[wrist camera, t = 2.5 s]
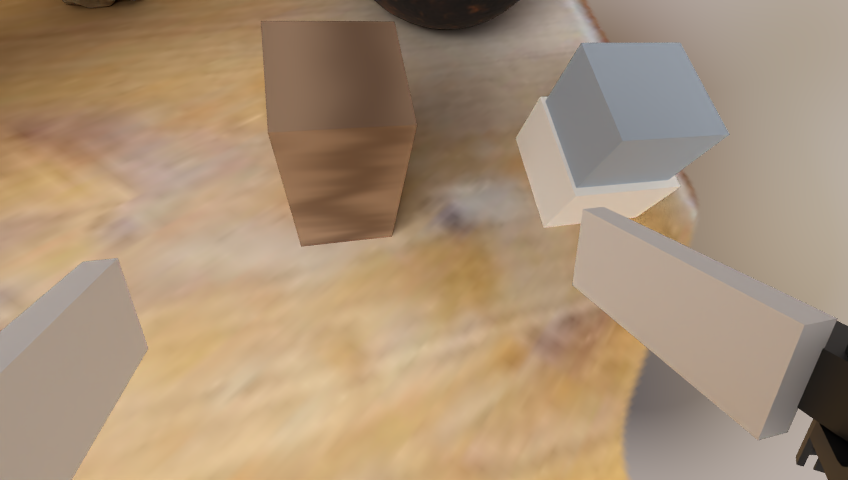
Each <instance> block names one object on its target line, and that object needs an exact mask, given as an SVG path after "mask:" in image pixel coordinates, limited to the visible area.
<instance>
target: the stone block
mask: <svg viewBox="0 0 848 480" xmlns="http://www.w3.org/2000/svg"><path fill="white" fill-rule="evenodd" d="M62 1H63V2H64V3H66V4H78V5H82V6H84V7H87V8H95V7H104V6H110V5H112V4H113V3H114V2H115V0H62ZM132 1H136V0H132Z"/></svg>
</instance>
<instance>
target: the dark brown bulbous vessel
mask: <svg viewBox="0 0 848 480" xmlns="http://www.w3.org/2000/svg"><path fill="white" fill-rule="evenodd" d="M375 1H376V2H377V3H378V4H380V5H381V6H382V7H383V8H384V9H386V10H387V11H389V12H390V13H392V14H393V15H396V16H397V17H399V18H401V19H404V20H406V21H408V22H411V23H413V24H416V25H420V26H424V27H428V28H434V29H460V28H466V27H470V26H473V25H477V24H480V23H483V22H486V21H488V20H490V19H493V18H494V17H496V16H498V15H499V14H501V13H503V12H504V11H506V10H507V9H509V8H510V7H511V6H513V5H514V4H515V3H517V2H518V1H519V0H375Z"/></svg>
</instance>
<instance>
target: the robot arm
mask: <svg viewBox="0 0 848 480" xmlns="http://www.w3.org/2000/svg"><path fill="white" fill-rule="evenodd" d="M572 285H573V286H574V287H575V288H576V289H578V290H579V291H580V292H581V293H582V294H584V295H585V296H586V297H587V298H588V299H590V300H591V301H592V302H593V303H594V304H596V305H597V306H598V307H599V308H600V309H602V310H603V311H604V312H605V313H606V314H608V315H609V316H610V317H611V318H612V319H614V320H615V321H616V322H617V323H618V324H620V325H621V326H622V327H623V328H624V329H625V330H627V331H628V332H629V333H630V334H631V335H633V336H634V337H635V338H636V339H637V340H639V341H640V342H641V343H642V344H643V345H645V346H646V347H647V348H648V349H649V350H651V351H652V352H653V353H654V354H655V355H657V356H658V357H659V358H660V359H661V360H663V361H664V362H665V363H666V364H668V365H669V366H670V367H671V368H672V369H673V370H675V371H676V372H677V373H678V374H679V375H681V376H682V377H683V378H684V379H685V380H687V381H688V382H689V383H690V384H691V385H692V386H694V387H695V388H696V389H698V390H699V391H700V392H701V393H702V394H703V395H704V396H706V397H707V398H708V399H709V400H710V401H712V402H713V403H714V404H715V405H716V406H718V407H719V408H720V409H721V410H722V411H724V412H725V413H726V414H727V415H728V416H730V417H731V418H732V419H733V420H734V421H736V422H737V423H738V424H739V425H740V426H741V427H743V428H744V429H745V430H746V431H748V432H749V433H750V434H751V435H752V436H754V437H755V438H756V439H757V440H761V439H765V438H768V437H772V436H775V435H779V434H783V433H787V432H788V430H789V428H790V425H791V423H792V421H793V419H794V417H795V414H796V412H797V410H798V408H799V409H800V410H802V411H803V412H805V413H806V414H807V415H809V416H810V417H812V418H813V421H812V423H811V425H810V427H809V429H808V432H807V434H806V436H805V438H804V440H803V442H802V445H801V447H800V449H799V451H798V453H797V455H796V463H797V465H800V466H804V464H805V462H806V460H807V458H808V456H809V455H817V456H818V460H817V462H816V464H815V466H814V470H817V471H820V472H824V473H825V474H826V476H827V479H828V480H848V326H846V325H844V324H842V323H840V322H838V321H837V318H835V317H833V316H831V315H829V314H827V313H825V312H823V311H821V310H818V309H817V308H815V307H812V306H810V305H808V304H806V303H804V302H802V301H800V300H798V299H796V298H794V297H792V296H789V295H787V294H785V293H783V292H781V291H779V290H777V289H775V288H773V287H771V286H768V285H766V284H764V283H762V282H760V281H758V280H756V279H754V278H752V277H749V276H748V275H745V274H743V273H741V272H739V271H737V270H735V269H733V268H731V267H729V266H727V265H724V264H722V263H720V262H718V261H716V260H714V259H712V258H710V257H708V256H705V255H703V254H702V253H699V252H697V251H695V250H693V249H691V248H689V247H687V246H685V245H683V244H681V243H678V242H676V241H674V240H672V239H670V238H668V237H666V236H664V235H662V234H660V233H658V232H655V231H653V230H651V229H649V228H647V227H645V226H643V225H641V224H639V223H637V222H635V221H632V220H630V219H628V218H626V217H624V216H622V215H620V214H618V213H616V212H614V211H612V210H609V209H607V208H605V207H597V208H588V209H583V211H582V218H581V225H580V233H579V240H578V247H577V254H576V261H575V269H574V276H573V283H572ZM147 350H148V346H147V343H146V340H145V337H144V334H143V331H142V328H141V325H140V322H139V319H138V316H137V313H136V310H135V307H134V304H133V301H132V299H131V296H130V293H129V290H128V287H127V284H126V281H125V278H124V275H123V272H122V269H121V266H120V263H119V260H118V258H114V259H104V260H95V261H85V262H82V263H81V264H79V265H78V266H77V267H76V268H75V269H74V270H72V271H71V272H70V273H69V274H68V275H66V276H65V277H64V278H63V279H62V280H61V281H59V282H58V283H57V284H56V285H55V286H53V287H52V288H51V289H50V290H49V291H48V292H46V293H45V294H44V295H43V296H42V297H40V298H39V299H38V300H37V301H36V302H35V303H33V304H32V305H31V306H30V307H29V308H27V309H26V310H25V311H24V312H23V313H22V314H20V315H19V316H18V317H17V318H16V319H14V320H13V321H12V322H11V323H10V324H9V325H7V326H6V327H5V328H4V329H3V330H1V331H0V480H72V478H73V476H74V475H75V473H76V471H77V470H78V468H79V466H80V464H81V463H82V461H83V459H84V458H85V456H86V454H87V452H88V451H89V449H90V447H91V446H92V444H93V442H94V440H95V439H96V437H97V435H98V434H99V432H100V430H101V428H102V427H103V425H104V423H105V422H106V420H107V418H108V416H109V415H110V413H111V411H112V410H113V408H114V406H115V404H116V403H117V401H118V399H119V398H120V396H121V394H122V392H123V391H124V389H125V387H126V386H127V384H128V382H129V380H130V379H131V377H132V375H133V374H134V372H135V370H136V368H137V367H138V365H139V363H140V362H141V360H142V358H143V357H144V355H145V353H146V351H147Z"/></svg>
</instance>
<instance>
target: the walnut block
mask: <svg viewBox="0 0 848 480" xmlns="http://www.w3.org/2000/svg"><path fill="white" fill-rule="evenodd" d="M261 29H262V45H263V61H264V77H265V93H266V109H267V125H268V134H269V138H270V141H271V145H272V148H273V151H274V155H275V158H276V162H277V165H278V168H279V172H280V175H281V179H282V182H283V185H284V189H285V192H286V196H287V199H288V202H289V206H290V209H291V213H292V216H293V219H294V223H295V226H296V230H297V233H298V237H299V240H300V243H301V246H310V245H319V244H328V243H337V242H346V241H355V240H364V239H373V238H382V237H391V236H392V233H393V229H394V224H395V220H396V216H397V211H398V207H399V202H400V198H401V194H402V189H403V185H404V180H405V176H406V172H407V167H408V163H409V158H410V154H411V150H412V145H413V141H414V137H415V132H416V128H417V122H416V117H415V113H414V108H413V104H412V99H411V94H410V90H409V85H408V81H407V76H406V72H405V67H404V63H403V58H402V54H401V49H400V45H399V40H398V36H397V31H396V26H395V22H381V21H261Z"/></svg>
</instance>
